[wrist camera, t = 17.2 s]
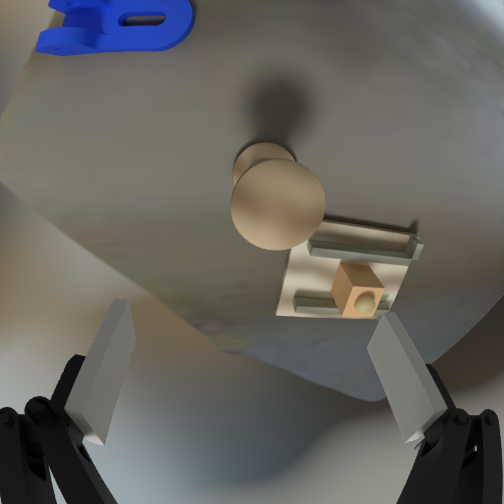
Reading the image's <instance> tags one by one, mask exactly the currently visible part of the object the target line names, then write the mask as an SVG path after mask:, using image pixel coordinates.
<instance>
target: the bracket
mask: <svg viewBox="0 0 504 504" xmlns="http://www.w3.org/2000/svg"><path fill="white" fill-rule="evenodd" d="M48 5H49V7H50V8H52V9H55V10H57V11H60V12H62V13H65V14H66V16H65V19H64V23H63V27H59V28H52V29H48V30H45V31H43V32H41V33H40V35H39V39H38V43H37V47H36V51H37V52H40V53H47V54H53V55H58V56H69V55H78V54H88V53H101V52H122V51H163V50H167V49H170V48H172V47H174V46H176V45H178V44H179V43H181V42H182V41H183V40H184V39H185V38H186V37H187V36H188V35H189V33H190V32H191V30H192V27H193V25H194V19H195V16H194V11H193V9H192V7H191V4H190V3H189V1H188V0H50V1H49V4H48ZM131 16H166V19H165V21H164V22H163V23H162V24H160V25H158V26H125V27H123V23H124V21H125V20H126V19H127V18H128V17H131Z"/></svg>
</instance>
